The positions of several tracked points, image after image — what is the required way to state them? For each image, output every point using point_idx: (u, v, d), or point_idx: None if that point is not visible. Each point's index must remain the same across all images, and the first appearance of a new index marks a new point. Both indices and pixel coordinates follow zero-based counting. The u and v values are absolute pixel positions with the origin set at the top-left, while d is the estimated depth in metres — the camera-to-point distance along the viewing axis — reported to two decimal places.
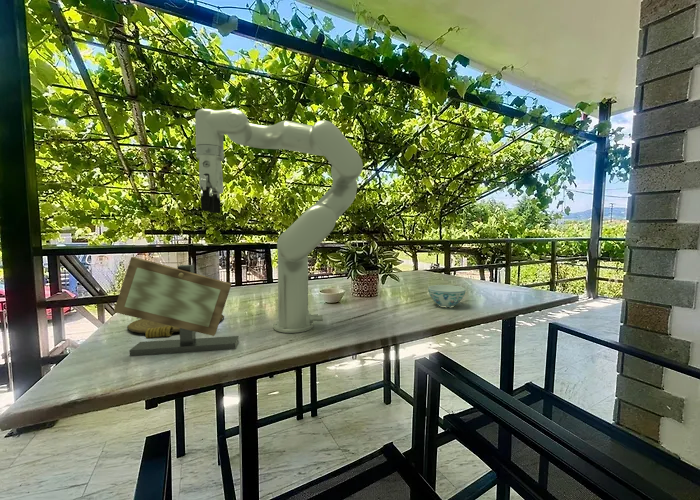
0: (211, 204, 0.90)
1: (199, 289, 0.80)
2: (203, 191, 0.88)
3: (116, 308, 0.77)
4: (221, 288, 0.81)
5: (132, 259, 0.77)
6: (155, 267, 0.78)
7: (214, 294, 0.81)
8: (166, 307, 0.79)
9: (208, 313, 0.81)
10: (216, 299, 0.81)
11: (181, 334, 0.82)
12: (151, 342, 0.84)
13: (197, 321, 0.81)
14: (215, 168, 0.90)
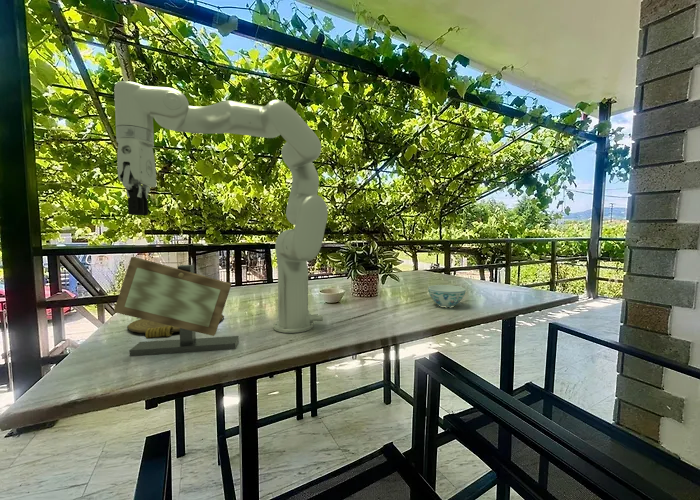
0: (141, 206, 0.76)
1: (199, 289, 0.80)
2: (129, 191, 0.74)
3: (116, 308, 0.77)
4: (221, 288, 0.81)
5: (132, 259, 0.77)
6: (155, 267, 0.78)
7: (214, 294, 0.81)
8: (166, 307, 0.79)
9: (208, 313, 0.81)
10: (216, 299, 0.81)
11: (181, 334, 0.82)
12: (151, 342, 0.84)
13: (197, 321, 0.81)
14: (138, 155, 0.72)
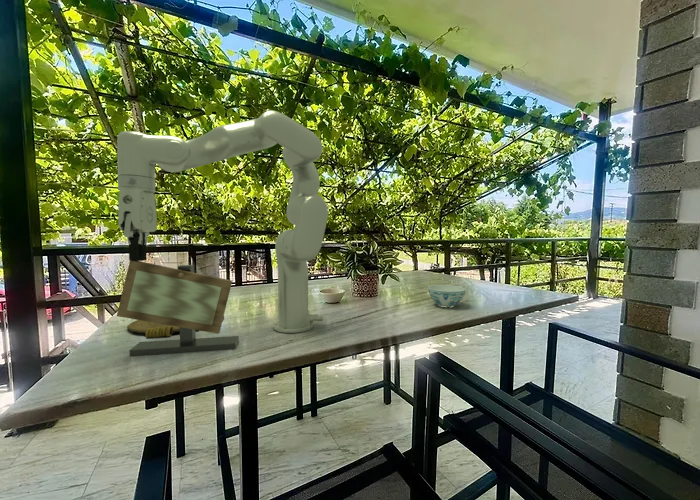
0: (141, 253, 0.77)
1: (200, 288, 0.80)
2: (130, 239, 0.75)
3: (119, 312, 0.77)
4: (222, 286, 0.81)
5: (131, 262, 0.77)
6: (154, 269, 0.78)
7: (215, 292, 0.81)
8: (168, 308, 0.79)
9: (211, 311, 0.81)
10: (218, 297, 0.81)
11: (181, 334, 0.82)
12: (151, 342, 0.84)
13: (200, 320, 0.81)
14: (139, 204, 0.73)
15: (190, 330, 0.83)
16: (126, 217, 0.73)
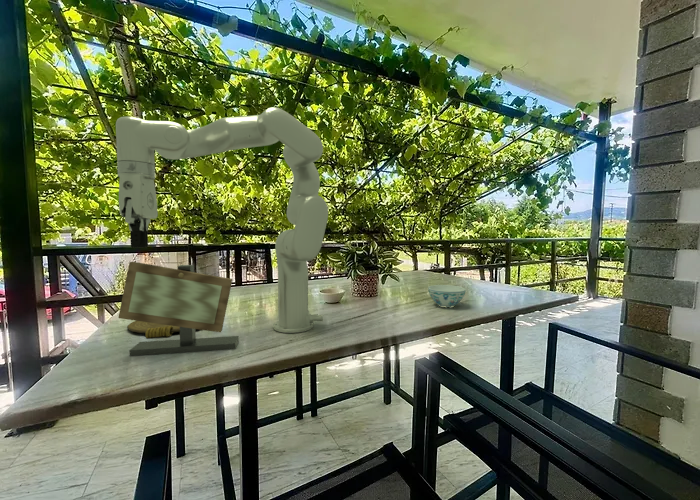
0: (143, 239, 0.77)
1: (200, 287, 0.80)
2: (131, 225, 0.75)
3: (120, 314, 0.77)
4: (223, 285, 0.81)
5: (131, 264, 0.77)
6: (154, 269, 0.78)
7: (216, 291, 0.81)
8: (170, 308, 0.79)
9: (212, 310, 0.81)
10: (218, 296, 0.81)
11: (181, 334, 0.82)
12: (151, 342, 0.84)
13: (202, 319, 0.81)
14: (139, 190, 0.73)
15: (190, 330, 0.83)
16: (127, 203, 0.73)
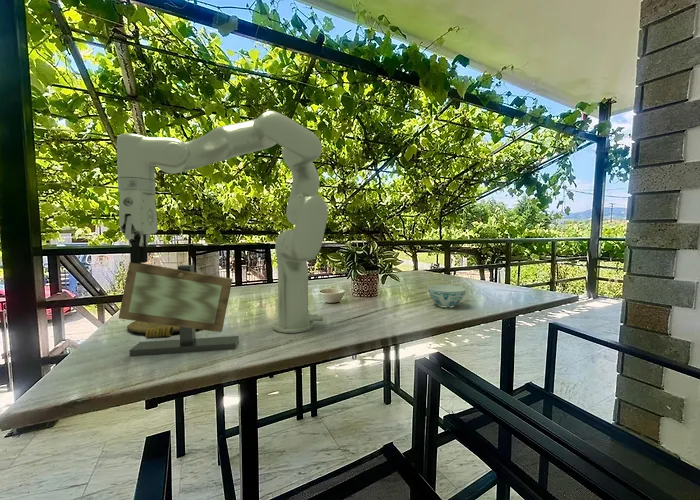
0: (142, 255, 0.77)
1: (201, 287, 0.80)
2: (131, 241, 0.75)
3: (121, 314, 0.77)
4: (223, 284, 0.81)
5: (130, 264, 0.77)
6: (154, 270, 0.78)
7: (216, 291, 0.81)
8: (170, 308, 0.79)
9: (212, 310, 0.81)
10: (219, 295, 0.81)
11: (181, 334, 0.82)
12: (151, 342, 0.84)
13: (202, 319, 0.81)
14: (139, 206, 0.73)
15: (190, 330, 0.83)
16: (127, 219, 0.73)
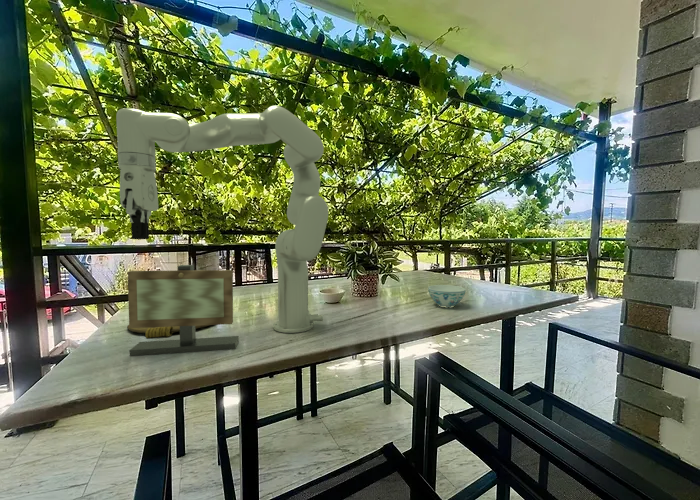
0: (144, 231, 0.77)
1: (203, 283, 0.80)
2: (132, 217, 0.75)
3: (130, 324, 0.78)
4: (224, 277, 0.81)
5: (129, 273, 0.77)
6: (154, 274, 0.78)
7: (219, 284, 0.81)
8: (177, 309, 0.79)
9: (219, 304, 0.81)
10: (222, 288, 0.81)
11: (181, 334, 0.82)
12: (151, 342, 0.84)
13: (211, 314, 0.81)
14: (140, 181, 0.73)
15: (190, 330, 0.83)
16: (128, 194, 0.73)
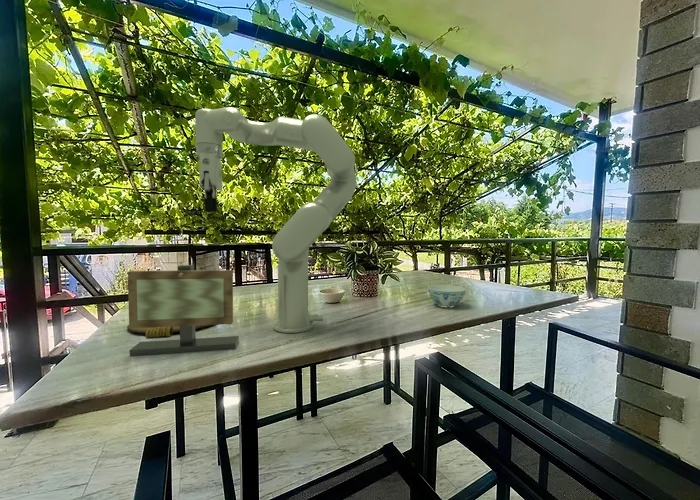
0: (214, 205, 0.98)
1: (203, 283, 0.80)
2: (207, 193, 0.96)
3: (130, 324, 0.78)
4: (224, 277, 0.81)
5: (129, 273, 0.77)
6: (154, 274, 0.78)
7: (219, 284, 0.81)
8: (177, 309, 0.79)
9: (219, 304, 0.81)
10: (222, 288, 0.81)
11: (181, 334, 0.82)
12: (151, 342, 0.84)
13: (211, 314, 0.81)
14: (214, 165, 0.94)
15: (190, 330, 0.83)
16: (205, 175, 0.94)
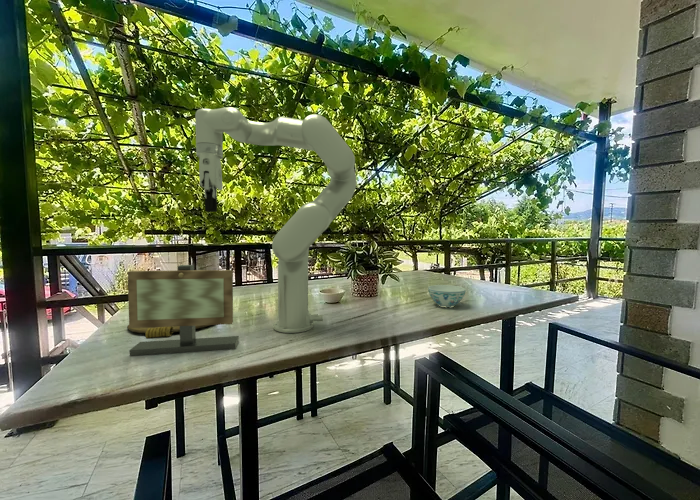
0: (214, 205, 0.98)
1: (203, 283, 0.80)
2: (207, 193, 0.96)
3: (130, 324, 0.78)
4: (224, 277, 0.81)
5: (129, 273, 0.77)
6: (154, 274, 0.78)
7: (219, 284, 0.81)
8: (177, 309, 0.79)
9: (219, 304, 0.81)
10: (222, 288, 0.81)
11: (181, 334, 0.82)
12: (151, 342, 0.84)
13: (211, 314, 0.81)
14: (214, 165, 0.94)
15: (190, 330, 0.83)
16: (205, 175, 0.94)
